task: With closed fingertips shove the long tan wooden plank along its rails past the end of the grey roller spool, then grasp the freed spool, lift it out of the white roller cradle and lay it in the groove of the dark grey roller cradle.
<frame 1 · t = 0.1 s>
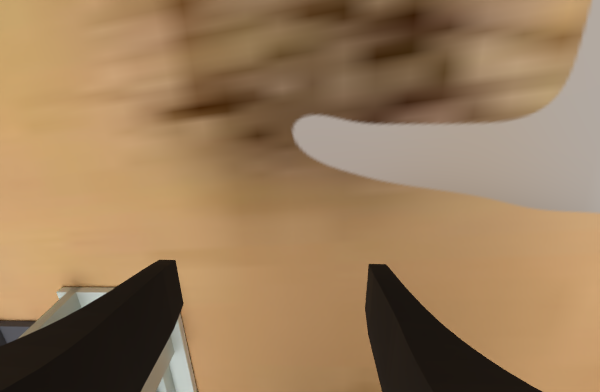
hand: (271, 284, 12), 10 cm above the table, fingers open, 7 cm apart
dark grey roller cradle: (57, 373, 30), on the table
white roller cradle: (137, 354, 28), on the table
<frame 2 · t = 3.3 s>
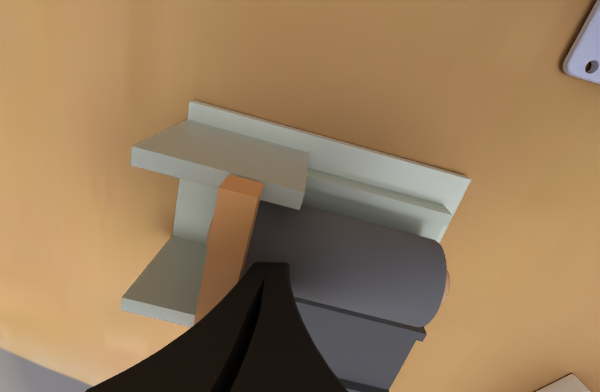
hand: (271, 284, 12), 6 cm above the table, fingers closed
dark grey roller cradle: (312, 333, 21), on the table
white roller cradle: (308, 217, 18), on the table
grey roller spool: (328, 257, 15), point 3 cm above the table, touching white roller cradle
long tan wooden plank: (219, 292, 12), point 7 cm above the table, slide at 1.0 cm, touching gripper
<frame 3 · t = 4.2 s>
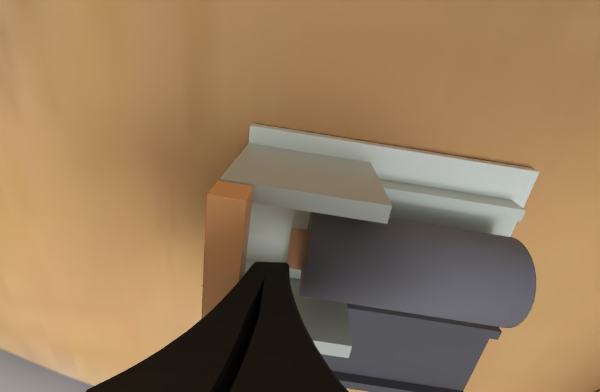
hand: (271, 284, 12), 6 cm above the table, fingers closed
dark grey roller cradle: (381, 340, 21), on the table
white roller cradle: (371, 225, 18), on the table
grey roller spool: (405, 265, 15), point 3 cm above the table, touching white roller cradle
long tan wooden plank: (223, 298, 12), point 7 cm above the table, slide at 4.4 cm, touching gripper
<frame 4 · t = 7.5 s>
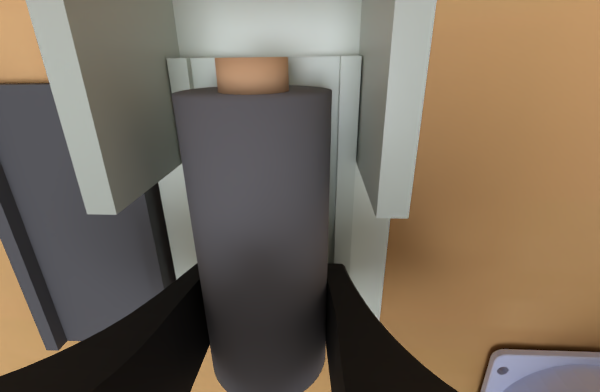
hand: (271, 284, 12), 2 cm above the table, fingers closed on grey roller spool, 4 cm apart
dark grey roller cradle: (95, 228, 14), on the table
white roller cradle: (275, 175, 13), on the table
grey roller spool: (263, 242, 10), point 3 cm above the table, touching gripper, white roller cradle
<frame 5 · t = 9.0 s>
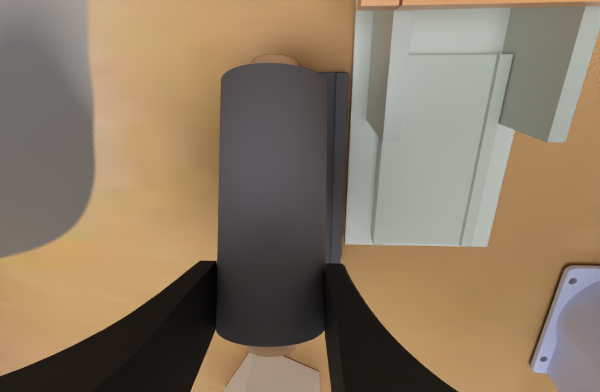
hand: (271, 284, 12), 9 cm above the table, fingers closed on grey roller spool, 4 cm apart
dark grey roller cradle: (290, 175, 21), on the table
white roller cradle: (427, 135, 19), on the table
milk: (271, 377, 28), on the table
grey roller spool: (273, 203, 13), point 8 cm above the table, tilted 25°, touching gripper
when the fingers open (3 cm above the table, at t = 10.6 s): grey roller spool stays where it is, resting on dark grey roller cradle.
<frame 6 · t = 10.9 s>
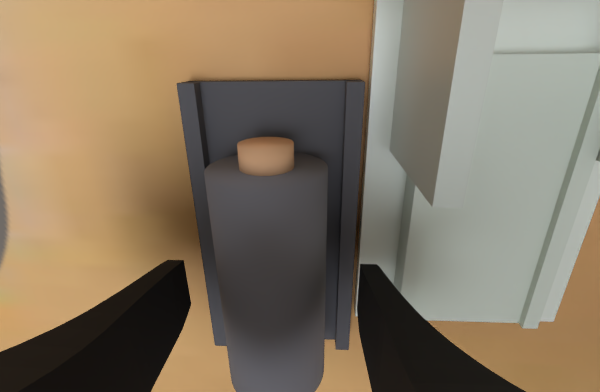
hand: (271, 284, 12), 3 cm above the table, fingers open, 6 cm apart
dark grey roller cradle: (279, 224, 15), on the table
white roller cradle: (476, 171, 13), on the table
grey roller spool: (273, 279, 13), point 3 cm above the table, tilted 6°, touching dark grey roller cradle
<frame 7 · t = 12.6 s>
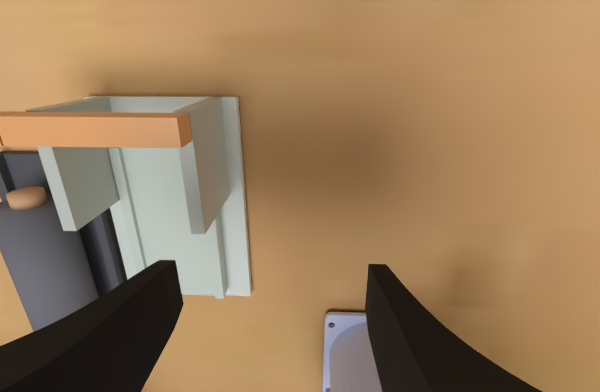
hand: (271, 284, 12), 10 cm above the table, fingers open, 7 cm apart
dark grey roller cradle: (74, 233, 24), on the table
white roller cradle: (179, 204, 22), on the table
grey roller spool: (51, 267, 22), point 3 cm above the table, touching dark grey roller cradle
long tan wooden plank: (81, 129, 14), point 7 cm above the table, slide at 4.4 cm
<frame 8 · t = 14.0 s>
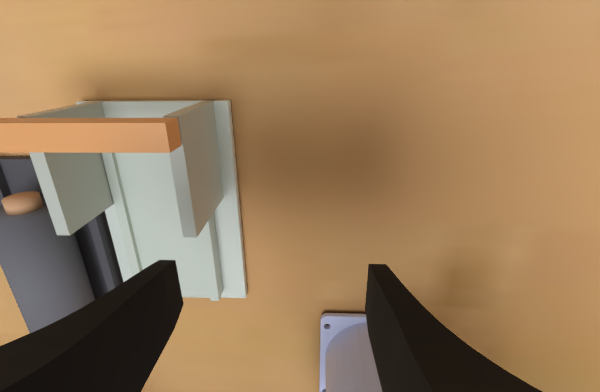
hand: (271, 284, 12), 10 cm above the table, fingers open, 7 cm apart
dark grey roller cradle: (70, 237, 24), on the table
white roller cradle: (174, 207, 22), on the table
grey roller spool: (47, 270, 22), point 3 cm above the table, tilted 6°, touching dark grey roller cradle
long tan wooden plank: (72, 134, 14), point 7 cm above the table, slide at 4.4 cm
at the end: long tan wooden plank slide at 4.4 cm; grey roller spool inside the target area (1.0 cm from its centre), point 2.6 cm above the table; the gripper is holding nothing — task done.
